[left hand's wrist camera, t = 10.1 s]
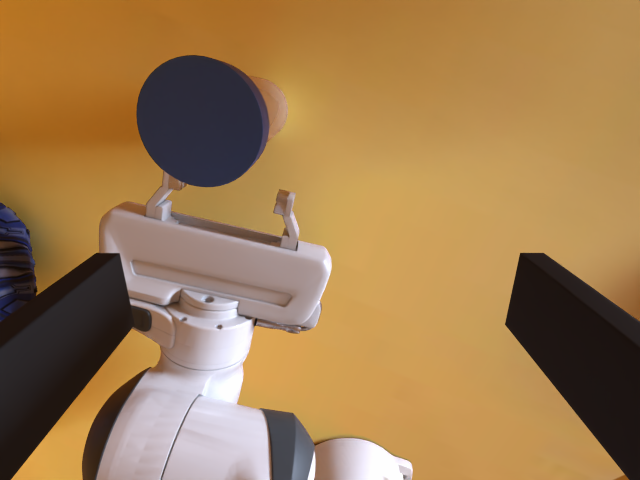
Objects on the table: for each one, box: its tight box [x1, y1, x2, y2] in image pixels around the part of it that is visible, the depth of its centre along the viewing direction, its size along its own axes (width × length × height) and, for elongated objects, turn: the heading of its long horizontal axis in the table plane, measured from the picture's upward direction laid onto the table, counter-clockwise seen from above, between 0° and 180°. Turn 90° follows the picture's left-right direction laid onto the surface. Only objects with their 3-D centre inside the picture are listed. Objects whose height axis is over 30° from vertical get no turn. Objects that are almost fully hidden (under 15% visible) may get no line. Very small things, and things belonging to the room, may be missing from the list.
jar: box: [247, 75, 288, 142], centre depth 28 cm, size 6×6×18 cm
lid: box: [136, 55, 269, 187], centre depth 20 cm, size 6×6×2 cm
